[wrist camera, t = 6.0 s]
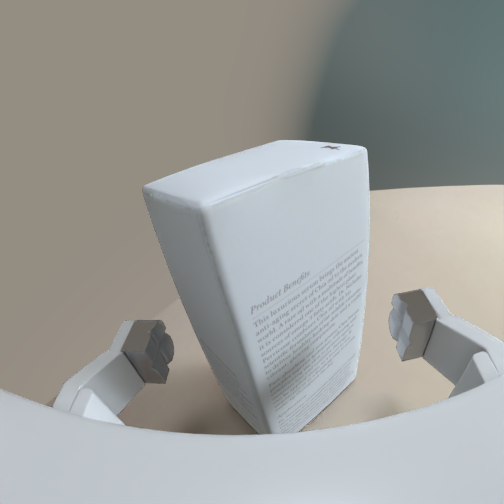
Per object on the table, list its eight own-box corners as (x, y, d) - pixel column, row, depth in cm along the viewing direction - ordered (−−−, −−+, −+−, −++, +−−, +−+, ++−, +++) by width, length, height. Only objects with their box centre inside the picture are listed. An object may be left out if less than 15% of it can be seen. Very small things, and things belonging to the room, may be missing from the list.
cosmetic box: (302, 343, 17) (281, 138, 11) (357, 379, 14) (373, 145, 8) (222, 402, 14) (136, 184, 8) (273, 453, 11) (198, 207, 5)
